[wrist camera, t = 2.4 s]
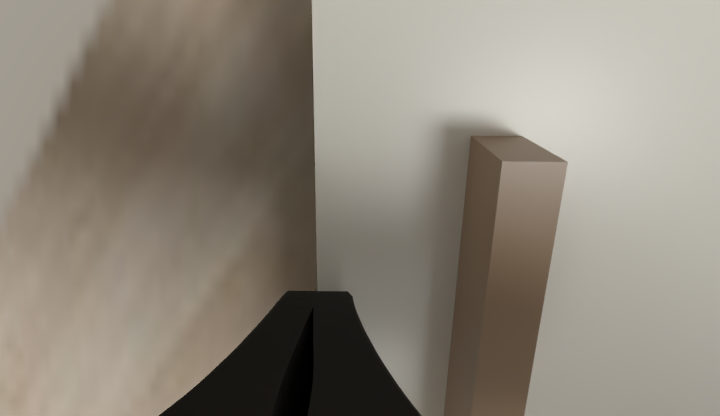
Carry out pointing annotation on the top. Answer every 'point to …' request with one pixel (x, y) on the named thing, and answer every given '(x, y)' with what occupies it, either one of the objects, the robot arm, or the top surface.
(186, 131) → the top surface
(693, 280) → the lid
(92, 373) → the top surface
